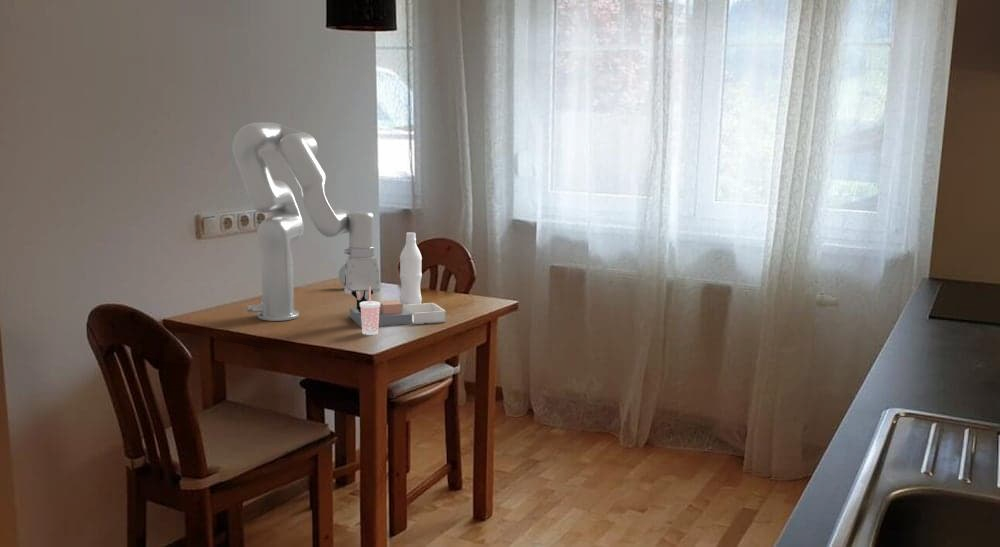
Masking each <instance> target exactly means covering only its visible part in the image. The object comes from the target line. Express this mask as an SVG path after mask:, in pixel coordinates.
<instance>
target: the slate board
mask: <svg viewBox="0 0 1000 547" xmlns="http://www.w3.org/2000/svg"><path fill="white" fill-rule="evenodd" d="M349 318H350V319H351V318H352V319H351V320H352V321H353V322H355V324H357V325H358V326H359V328H361V329H362V320H361V313H360V312H359V311H358V310H357V306H356V307H355V306H354V307H349ZM399 324H402V325H412V324H413V323H412V314H411V313H410V312H409V311H407V310H406V309H405V308H403V307H402V313H400V314H386V315H383V314H382V313H381V312H380V311H379V325H378V327H385V326H386V325H389V326H400V325H399ZM386 327H387V326H386Z"/></svg>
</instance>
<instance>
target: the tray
mask: <svg viewBox="0 0 1000 547" xmlns="http://www.w3.org/2000/svg"><path fill="white" fill-rule="evenodd" d="M403 308H405V309H406V310H407V311H409V312H410V313H411V314H412V324H413V325H425V324H424V323H428V324H438V323H447V311H446V310H445V309H444V308H442V307H441V306H439V305H438V304H436V303H435V302H428V303H425V302H424V303H421V304H409V305H403Z"/></svg>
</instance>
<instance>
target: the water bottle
mask: <svg viewBox="0 0 1000 547" xmlns="http://www.w3.org/2000/svg"><path fill="white" fill-rule="evenodd" d="M405 236H406V237H405V245H404V247H403V249H402V251H401V252H400V256H399V260H400V263H399V267H400V268H399V278H400V284H401V285H400V287H401V289H400V295H399V302H401V303H402V307H403V305H409V304H422V300H423V299H422V298H423V297H422V294H421V292H422V291H421V281H422V276H423V273H422V260H423V257H422V254H421V251H420V249H419V247H418V246H417V242H416V241H417V237H416V232H413V231H412V232H411V231H409V232H406V235H405Z"/></svg>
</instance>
